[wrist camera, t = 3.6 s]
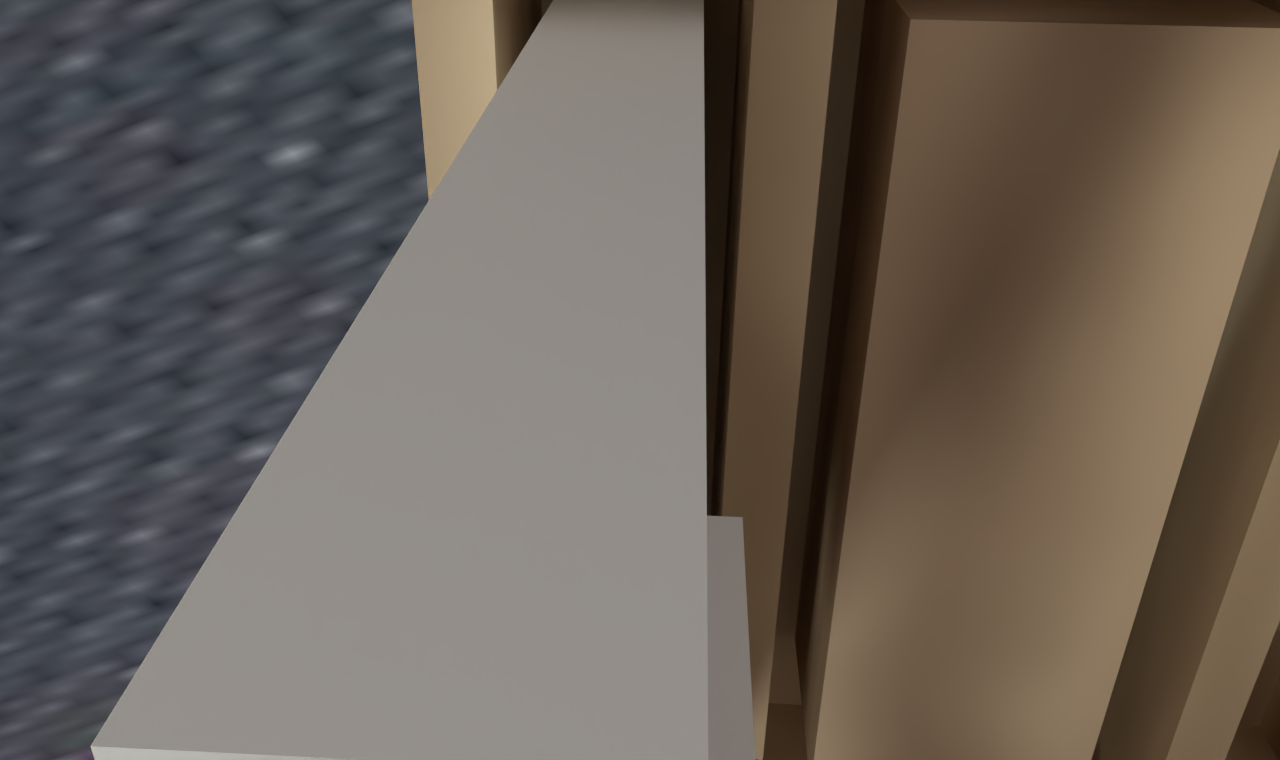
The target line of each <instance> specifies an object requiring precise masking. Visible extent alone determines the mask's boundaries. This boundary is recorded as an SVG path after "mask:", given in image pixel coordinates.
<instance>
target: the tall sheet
mask: <svg viewBox="0 0 1280 760" xmlns="http://www.w3.org/2000/svg"><path fill="white" fill-rule="evenodd" d="M91 749H92V753H93V756H94V759H95V760H708V623H707V459H706V295H705V130H704V0H553V1H552V3H551V4H550V6H549V8H548V9H547V11H546V13H545V14H544V16H543V17H542V19H541V21H540V22H539V24H538V25H537V27H536V29H535V30H534V32H533V33H532V35H531V37H530V38H529V40H528V42H527V43H526V45H525V46H524V48H523V50H522V51H521V53H520V54H519V56H518V58H517V59H516V61H515V63H514V64H513V66H512V67H511V69H510V71H509V72H508V74H507V75H506V77H505V79H504V80H503V82H502V83H501V85H500V87H499V88H498V90H497V92H496V93H495V95H494V96H493V98H492V100H491V101H490V103H489V104H488V106H487V108H486V109H485V111H484V113H483V114H482V116H481V117H480V119H479V121H478V122H477V124H476V125H475V127H474V129H473V130H472V132H471V133H470V135H469V137H468V138H467V140H466V142H465V143H464V145H463V146H462V148H461V150H460V151H459V153H458V154H457V156H456V158H455V159H454V161H453V162H452V164H451V166H450V167H449V169H448V171H447V172H446V174H445V175H444V177H443V179H442V180H441V182H440V183H439V185H438V187H437V188H436V190H435V192H434V193H433V195H432V196H431V198H430V200H429V201H428V203H427V204H426V206H425V208H424V209H423V211H422V212H421V214H420V216H419V217H418V219H417V221H416V222H415V224H414V225H413V227H412V229H411V230H410V232H409V233H408V235H407V237H406V238H405V240H404V241H403V243H402V245H401V246H400V248H399V250H398V251H397V253H396V254H395V256H394V258H393V259H392V261H391V262H390V264H389V266H388V267H387V269H386V271H385V272H384V274H383V275H382V277H381V279H380V280H379V282H378V283H377V285H376V287H375V288H374V290H373V291H372V293H371V295H370V296H369V298H368V300H367V301H366V303H365V304H364V306H363V308H362V309H361V311H360V312H359V314H358V316H357V317H356V319H355V321H354V322H353V324H352V325H351V327H350V329H349V330H348V332H347V333H346V335H345V337H344V338H343V340H342V341H341V343H340V345H339V346H338V348H337V350H336V351H335V353H334V354H333V356H332V358H331V359H330V361H329V362H328V364H327V366H326V367H325V369H324V370H323V372H322V374H321V375H320V377H319V379H318V380H317V382H316V383H315V385H314V387H313V388H312V390H311V391H310V393H309V395H308V396H307V398H306V400H305V401H304V403H303V404H302V406H301V408H300V409H299V411H298V412H297V414H296V416H295V417H294V419H293V420H292V422H291V424H290V425H289V427H288V429H287V430H286V432H285V433H284V435H283V437H282V438H281V440H280V441H279V443H278V445H277V446H276V448H275V449H274V451H273V453H272V454H271V456H270V458H269V459H268V461H267V462H266V464H265V466H264V467H263V469H262V470H261V472H260V474H259V475H258V477H257V479H256V480H255V482H254V483H253V485H252V487H251V488H250V490H249V491H248V493H247V495H246V496H245V498H244V499H243V501H242V503H241V504H240V506H239V508H238V509H237V511H236V512H235V514H234V516H233V517H232V519H231V520H230V522H229V524H228V525H227V527H226V529H225V530H224V532H223V533H222V535H221V537H220V538H219V540H218V541H217V543H216V545H215V546H214V548H213V549H212V551H211V553H210V554H209V556H208V558H207V559H206V561H205V562H204V564H203V566H202V567H201V569H200V570H199V572H198V574H197V575H196V577H195V578H194V580H193V582H192V583H191V585H190V587H189V588H188V590H187V591H186V593H185V595H184V596H183V598H182V599H181V601H180V603H179V604H178V606H177V608H176V609H175V611H174V612H173V614H172V616H171V617H170V619H169V620H168V622H167V624H166V625H165V627H164V628H163V630H162V632H161V633H160V635H159V637H158V638H157V640H156V641H155V643H154V645H153V646H152V648H151V649H150V651H149V653H148V654H147V656H146V658H145V659H144V661H143V662H142V664H141V666H140V667H139V669H138V670H137V672H136V674H135V675H134V677H133V678H132V680H131V682H130V683H129V685H128V687H127V688H126V690H125V691H124V693H123V695H122V696H121V698H120V699H119V701H118V703H117V704H116V706H115V707H114V709H113V711H112V712H111V714H110V716H109V717H108V719H107V720H106V722H105V724H104V725H103V727H102V728H101V730H100V732H99V733H98V735H97V737H96V738H95V740H94V741H93V743H92V745H91Z"/></svg>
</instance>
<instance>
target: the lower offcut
mask: <svg viewBox="0 0 1280 760" xmlns="http://www.w3.org/2000/svg"><path fill="white" fill-rule="evenodd" d="M885 6H886V0H865V6H864V15H863V24H862V33H861V42H860V51H859V61H858V70H857V79H856V88H855V97H854V106H853V115H852V124H851V133H850V142H849V151H848V160H847V169H846V178H845V187H844V197H843V206H842V215H841V224H840V233H839V242H838V251H837V260H836V269H835V278H834V287H833V296H832V305H831V314H830V324H829V333H828V342H827V351H826V360H825V369H824V378H823V387H822V396H821V405H820V414H819V423H818V432H817V441H816V450H815V460H814V469H813V478H812V487H811V496H810V505H809V514H808V523H807V532H806V541H805V550H804V559H803V568H802V577H801V587H800V596H799V605H798V614H797V623H796V632H795V645H796V655H797V664H798V674H799V683H800V693H801V702H803V693H804V685H805V677H806V668H807V660H808V652H809V643H810V635H811V626H812V618H813V610H814V601H815V593H816V584H817V576H818V568H819V559H820V551H821V543H822V534H823V526H824V517H825V509H826V501H827V492H828V484H829V476H830V467H831V459H832V450H833V442H834V434H835V425H836V417H837V408H838V400H839V392H840V383H841V375H842V367H843V358H844V350H845V341H846V333H847V325H848V316H849V308H850V300H851V291H852V283H853V274H854V266H855V258H856V249H857V241H858V232H859V224H860V216H861V207H862V199H863V191H864V182H865V174H866V165H867V157H868V149H869V140H870V132H871V124H872V115H873V107H874V98H875V90H876V82H877V73H878V65H879V56H880V48H881V40H882V31H883V23H884V15H885Z"/></svg>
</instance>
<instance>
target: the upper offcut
mask: <svg viewBox="0 0 1280 760" xmlns="http://www.w3.org/2000/svg"><path fill="white" fill-rule="evenodd" d="M1279 149H1280V13H1278V12H1276V11H1274V10H1271V9H1269V8H1267V7H1265V6H1262V5H1260V4H1258V3H1255V2H1253V1H1251V0H886V6H885V15H884V23H883V31H882V40H881V48H880V56H879V65H878V73H877V82H876V90H875V98H874V107H873V115H872V124H871V132H870V140H869V149H868V157H867V165H866V174H865V182H864V191H863V199H862V207H861V216H860V224H859V232H858V241H857V249H856V258H855V266H854V274H853V283H852V291H851V300H850V308H849V316H848V325H847V333H846V341H845V350H844V358H843V367H842V375H841V383H840V392H839V400H838V408H837V417H836V425H835V434H834V442H833V450H832V459H831V467H830V476H829V484H828V492H827V501H826V509H825V517H824V526H823V534H822V543H821V551H820V559H819V568H818V576H817V584H816V593H815V601H814V610H813V618H812V626H811V635H810V643H809V652H808V660H807V668H806V677H805V685H804V693H803V702H802V712H803V721H804V731H805V740H806V750H807V759H808V760H1091V759H1092V756H1093V752H1094V749H1095V746H1096V743H1097V739H1098V736H1099V733H1100V730H1101V726H1102V723H1103V720H1104V717H1105V713H1106V710H1107V707H1108V704H1109V700H1110V697H1111V694H1112V691H1113V687H1114V684H1115V681H1116V678H1117V674H1118V671H1119V668H1120V665H1121V662H1122V658H1123V655H1124V652H1125V649H1126V645H1127V642H1128V639H1129V636H1130V632H1131V629H1132V626H1133V623H1134V619H1135V616H1136V613H1137V610H1138V606H1139V603H1140V600H1141V597H1142V593H1143V590H1144V587H1145V584H1146V580H1147V577H1148V574H1149V571H1150V567H1151V564H1152V561H1153V558H1154V554H1155V551H1156V548H1157V545H1158V541H1159V538H1160V535H1161V532H1162V528H1163V525H1164V522H1165V519H1166V515H1167V512H1168V509H1169V506H1170V503H1171V499H1172V496H1173V493H1174V490H1175V486H1176V483H1177V480H1178V477H1179V473H1180V470H1181V467H1182V464H1183V460H1184V457H1185V454H1186V451H1187V447H1188V444H1189V441H1190V438H1191V434H1192V431H1193V428H1194V425H1195V421H1196V418H1197V415H1198V412H1199V408H1200V405H1201V402H1202V399H1203V395H1204V392H1205V389H1206V386H1207V382H1208V379H1209V376H1210V373H1211V369H1212V366H1213V363H1214V360H1215V356H1216V353H1217V350H1218V347H1219V343H1220V340H1221V337H1222V334H1223V331H1224V327H1225V324H1226V321H1227V318H1228V314H1229V311H1230V308H1231V305H1232V301H1233V298H1234V295H1235V292H1236V288H1237V285H1238V282H1239V279H1240V275H1241V272H1242V269H1243V266H1244V262H1245V259H1246V256H1247V253H1248V249H1249V246H1250V243H1251V240H1252V236H1253V233H1254V230H1255V227H1256V223H1257V220H1258V217H1259V214H1260V210H1261V207H1262V204H1263V201H1264V197H1265V194H1266V191H1267V188H1268V184H1269V181H1270V178H1271V175H1272V171H1273V168H1274V165H1275V162H1276V159H1277V155H1278V152H1279Z"/></svg>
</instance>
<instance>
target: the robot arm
mask: <svg viewBox="0 0 1280 760" xmlns="http://www.w3.org/2000/svg"><path fill="white" fill-rule="evenodd" d="M707 623H708V760H756V759H755V745H754V726H753V707H752V688H751V669H750V650H749V631H748V612H747V593H746V574H745V555H744V536H743V517H728V516H707Z"/></svg>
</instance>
